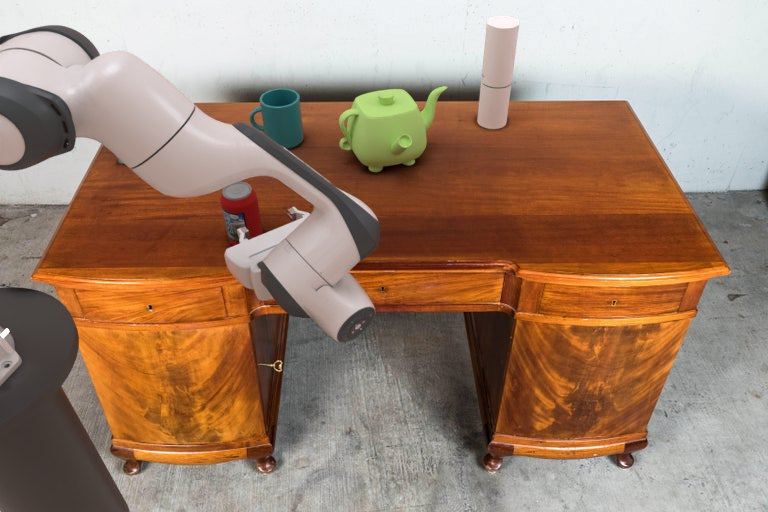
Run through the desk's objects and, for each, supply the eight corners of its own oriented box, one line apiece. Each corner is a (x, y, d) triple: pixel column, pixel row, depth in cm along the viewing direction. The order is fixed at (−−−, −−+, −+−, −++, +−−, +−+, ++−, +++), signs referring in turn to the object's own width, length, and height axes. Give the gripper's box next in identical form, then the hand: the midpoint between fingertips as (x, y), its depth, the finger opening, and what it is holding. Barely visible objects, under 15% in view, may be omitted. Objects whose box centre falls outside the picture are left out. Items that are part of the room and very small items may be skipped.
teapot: (358, 198, 139) (355, 133, 128) (331, 146, 154) (327, 84, 143) (467, 175, 144) (473, 111, 134) (430, 127, 160) (433, 66, 149)
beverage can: (222, 238, 129) (211, 189, 121) (251, 223, 133) (242, 174, 125) (241, 255, 126) (231, 205, 118) (270, 239, 129) (262, 190, 121)
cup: (255, 131, 159) (248, 88, 152) (305, 129, 159) (300, 87, 152) (251, 151, 152) (244, 108, 145) (303, 150, 153) (298, 106, 145)
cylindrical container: (501, 112, 164) (513, 14, 148) (510, 127, 159) (523, 27, 143) (473, 115, 164) (482, 16, 147) (481, 130, 158) (492, 29, 142)
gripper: (359, 226, 107) (317, 185, 115) (244, 276, 98) (208, 228, 107) (360, 255, 111) (320, 213, 119) (250, 305, 103) (215, 256, 111)
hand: (266, 220), depth 113 cm, fingers open, 8 cm apart
